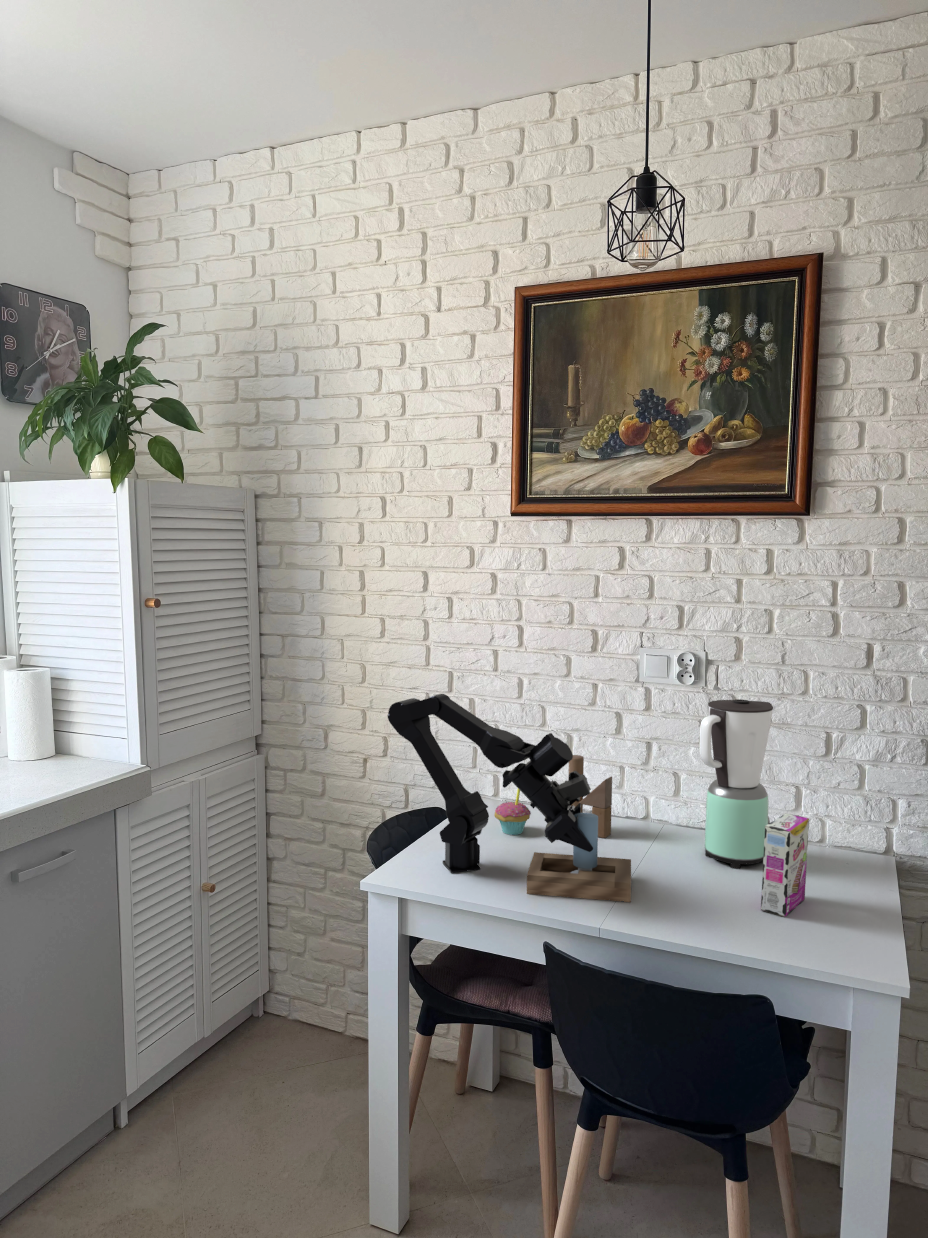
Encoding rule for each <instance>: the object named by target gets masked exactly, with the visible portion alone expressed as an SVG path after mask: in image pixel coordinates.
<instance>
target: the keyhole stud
mask: <svg viewBox="0 0 928 1238" xmlns="http://www.w3.org/2000/svg"><path fill="white" fill-rule="evenodd" d="M574 816H575V817H577V816H578V826H579V828H580V829H581V831H582V832H583V833H584V835H585V836H586V838H587V839H588V841H589V842H590V843H591V845H592V846H593V850H592V851H591V852H588V851H586V850H583V849H581V848H578V847H576V846H574V845H572V846H573V847H572V853H573V854H572V855H573V865H574V866H576V867H578V870H575V871H572V872H571V873H576V874H578V872H579V870H582V871H592V868H595V867H596V866H597V857H598V852H599V851H598V849H599V848H598V845H599V844H598V841H599V840H598V838H599V837H598V816H597V815H595V814H592V812H583V813H577V814H575V815H574Z"/></svg>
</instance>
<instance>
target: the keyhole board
mask: <svg viewBox="0 0 928 1238" xmlns="http://www.w3.org/2000/svg"><path fill="white" fill-rule="evenodd" d="M575 870H578V867H576V866H574V865H573V854H564V853H550V852H538V851H537V852H536V851H535V852H533V856H532V858H531V861H530V864H529V868H528V871H527V874H526V894H527V895H536V896H548V897H549V896H550V897H551V896H552V897H560V896H561V898H573V899H574V898H575V899H586V900H600V901H609V900H610V902H621V901H624V903H631V901H632V899H631V897H632V894H631V893H632V859H631V858H620V857H619V858H618V857H617V858H616V857H606V856H604V857H603V856H597V866H596V867H595V868H592V871H582V870H579V872H578V874H576V873H571V872H572V871H575Z"/></svg>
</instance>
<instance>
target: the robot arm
mask: <svg viewBox="0 0 928 1238" xmlns="http://www.w3.org/2000/svg"><path fill="white" fill-rule="evenodd" d="M387 712H388V713H387V719H388V722H389V723H390V725H391V726H392V728H393V729H394V730H395V731H396V732H397V734H398V736H401V737H402V738H403V739H405V740H406V741H408V742H410V744H411V745H412V747H413V749H414V750H415V752H416V753H417V755H418V757H419V759H420V761H421V762H422V763H423V765H424V767H425V770H426V771H427V772H428V774H429V776H430V778H431V779H432V781H433V782H434V784H435V786H436V787H437V789H438V791H439V793H440V795H441V796H442V798H443V800H444V805H445V815H446V819H447V820H448V823H447V825H446V826H444V827H443V828H442V829H441V830H440V831H439V836H440V839H441V842H442V843H444V849H445V851H444V860H442V864H443V865H444V867H445V868H446V869H448V871H449V873H452V874H454V873H455V874H456V873H462V872H465V873H466V872H471V871H480V870H481V866H480V865H479V864H481V863H480V862H481V857H480V856H481V855H480V854H481V853H480V851H481V846H480V844H478V843H479V842H478V841H479V839H478V838H477V837H478V836H480V835H481V834H482V831H483V829H484V828H485V827H486V826H487V825H488V822H489V818H490V815H489V811H488V809H487V808H489V806H488V804H486V803H485V801H484V800H483V798H482V796H481V793H480V792H479V791H474V792H472V793H471V792H470V791H469V790H468V789H466V788H465V787H464V785H463V782H461V780H460V778H459V777H458V774H456V771H455V770H454V768H453V767H452V765H451V763H450V762H449V760H448V758H447V756H446V755H445V752H443V750H442V748H441V746H440V745H439V743H438V741H437V739H436V738H435V737H434V735H433V733H432V731H431V719H430V716H433V715H434V716H436V717H437V718H438V719H440V720H441V721H443V722H444V723H446V724H447V725H448V726H450V727H451V728H452V729H454V730H456V731H457V732H458V733H460V734H461V735H463V736H464V737H466V738H467V739H469V740H470V741H472V742H473V743H474V744H476V745H477V746H478V747H479V749H480V751H481V753H482V754H483V756H484V757H486V759H487V760H488V761H490V763H491V764H493V765H494V766H495V767H497V768H498V769H499V768H500V769H505V768H509V767H511V766H512V765H516V764H517V765H516V766H515V767H514V768H513V769H511V770H507V769H506V770H504V772H503V773H502V788H508V786H509V785H510V784H511V783H512V784H513V785H514V786H516V787H517V790H518V789H519V790H520V793H522V795H523V796H524V797H526V798H527V799H528V801H530V803H529V806H530V807H531V808H532V809H535V808H536V809H537V810H538V811H539V812H540V813H541V814H542V815H543V816H544V822H545V823H546V824H545V825H546V826H545V827H544V828H545V829H544V836H545V839H547V840H548V841H549V842H550V843H551V844H552V843H554V842H555V841H560V842H564V843H566V844H568V845H571V846H573V845H574V846H576V847H578V848H581V849H583V850H586V851H588V852H591V851H592V850H593V846H592V845H591V843H590V842H589V841H588V839H587V838H586V836H585V835H584V833H583V832H582V831H581V829H580V828H579V826H578V816H577V817H575V816H574V815H575V814H577V813H581V803H579V804H578V805H577V806H576V807H575V806H574V805H572V804H573V803H574V802H575V801H577V802H578V801H579V800H580V797H583V798H585V797H586V796H587V795H589V794H590V792H591V786H590V784H589V782H588V778H587V777H586V775H585V774H584V773H583V774H582V775H580V774H579V773H578V772H577V771H573V772H571V773H569V772H568V775H569V780H568V779H567V780H565V781H564V782H562V783H558V782H557V781H556V780H550V779H549V778H548V777H553V776H554V775H556V774H557V772H559V771H560V770H561V769H563V767H566V765H567V764H569V761H571V760H572V758H573V755H574V754H573V752H572V750H571V748H570V746H569V745H568V744H567V743H566V742H564V741H563V740H562V739H561V738H558V737H556V736H555V735H553V733H552V732H550V733H547V734H546V735H545V736H544V737H542V738H541V740H540V741H539V743H537V744H536V745H535V744H532V743H529V742H526V741H524V740H523V739H522V738H521V737H520V736H518V735H516V734H514V733H512V732H510V731H508V730H504V729H501V728H497V727H493V726H491V725H490V724H488V723H486V722H485V721H484V720H482V719H481V718H479V717H477V716H476V715H475V714H473V713H472V712H470V711H469V710H467V709H466V708H464V707H463V706H462V705H460V704H459V703H457V702H455V701H454V700H452V699H451V698H450V696H449V695H447V694H445V693H438V694H435V695H431V696H429V697H427V698H424V699H419V698H418V699H417V698H415V697H413V698H408V699H407V698H406V699H404V700H400V701H396V702H394V703H392V704H391V705H390V706H389V709H388V711H387ZM527 759H529V760H528V762H526V763H523V761H526V760H527ZM571 805H572V806H571Z"/></svg>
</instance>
